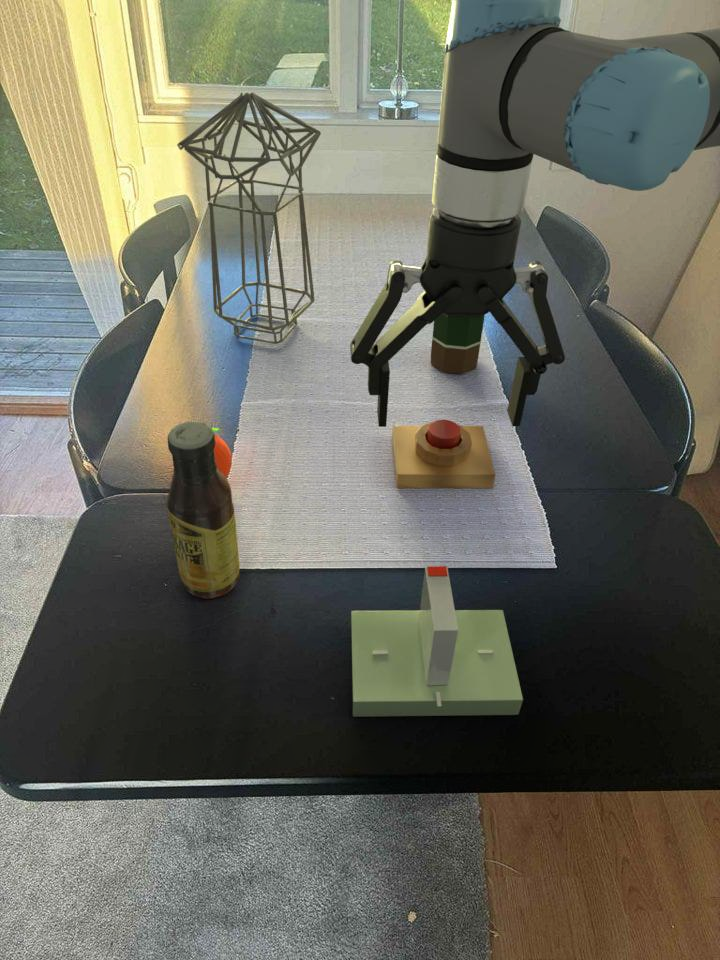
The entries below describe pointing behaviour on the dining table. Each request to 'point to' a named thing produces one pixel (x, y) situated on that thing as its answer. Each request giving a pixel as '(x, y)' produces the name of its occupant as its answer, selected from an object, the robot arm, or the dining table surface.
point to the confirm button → (443, 434)
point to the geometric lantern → (228, 117)
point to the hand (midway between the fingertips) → (447, 418)
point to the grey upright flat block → (437, 625)
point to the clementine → (222, 454)
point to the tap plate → (400, 670)
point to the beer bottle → (456, 343)
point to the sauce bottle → (201, 513)
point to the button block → (441, 459)
